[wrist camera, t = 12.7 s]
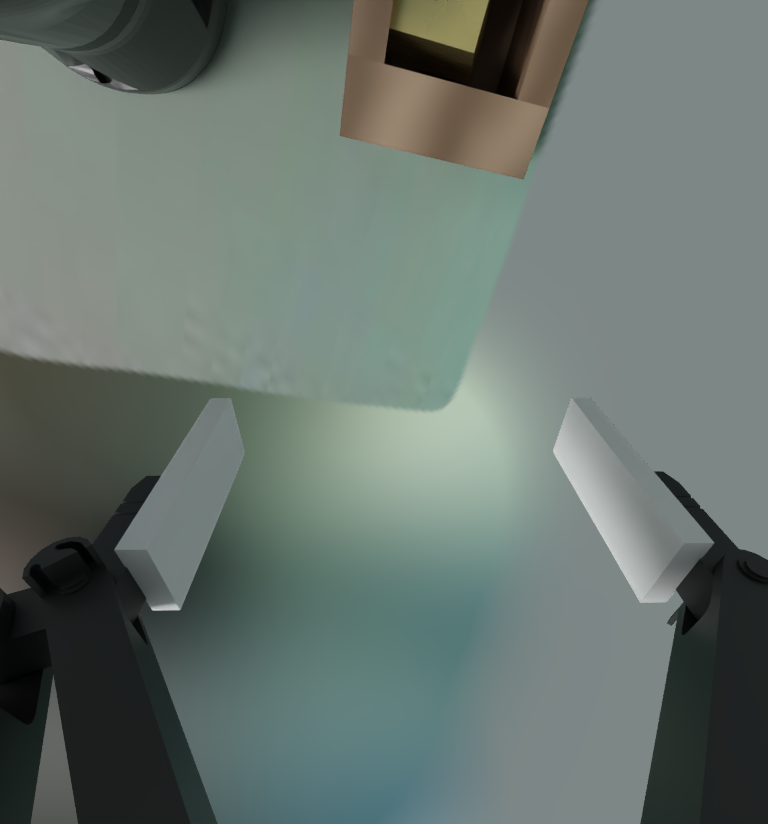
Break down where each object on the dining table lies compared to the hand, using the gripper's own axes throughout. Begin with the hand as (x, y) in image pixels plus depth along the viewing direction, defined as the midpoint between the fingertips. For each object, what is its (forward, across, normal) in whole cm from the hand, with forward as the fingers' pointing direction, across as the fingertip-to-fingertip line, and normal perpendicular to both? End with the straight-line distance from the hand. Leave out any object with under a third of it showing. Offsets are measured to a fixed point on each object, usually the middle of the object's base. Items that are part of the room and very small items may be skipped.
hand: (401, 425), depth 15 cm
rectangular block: (+26, +4, +15) cm, 30 cm away
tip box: (+27, +4, +15) cm, 31 cm away
